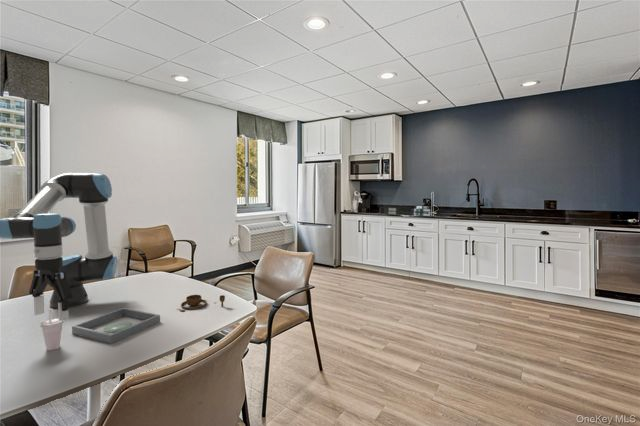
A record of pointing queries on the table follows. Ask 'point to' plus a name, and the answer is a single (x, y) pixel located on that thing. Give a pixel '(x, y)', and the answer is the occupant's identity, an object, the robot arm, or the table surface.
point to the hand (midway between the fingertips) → (51, 316)
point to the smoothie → (52, 332)
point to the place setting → (197, 302)
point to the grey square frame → (115, 325)
